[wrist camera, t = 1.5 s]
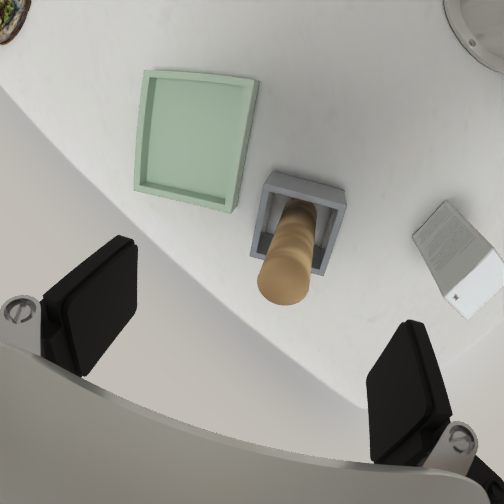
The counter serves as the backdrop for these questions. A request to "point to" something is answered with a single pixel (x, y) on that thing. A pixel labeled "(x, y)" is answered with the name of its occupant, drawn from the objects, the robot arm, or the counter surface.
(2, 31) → the plate of food
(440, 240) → the skincare box
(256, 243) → the open box
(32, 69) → the counter surface
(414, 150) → the counter surface
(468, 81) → the counter surface
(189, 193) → the tray
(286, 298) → the dowel
